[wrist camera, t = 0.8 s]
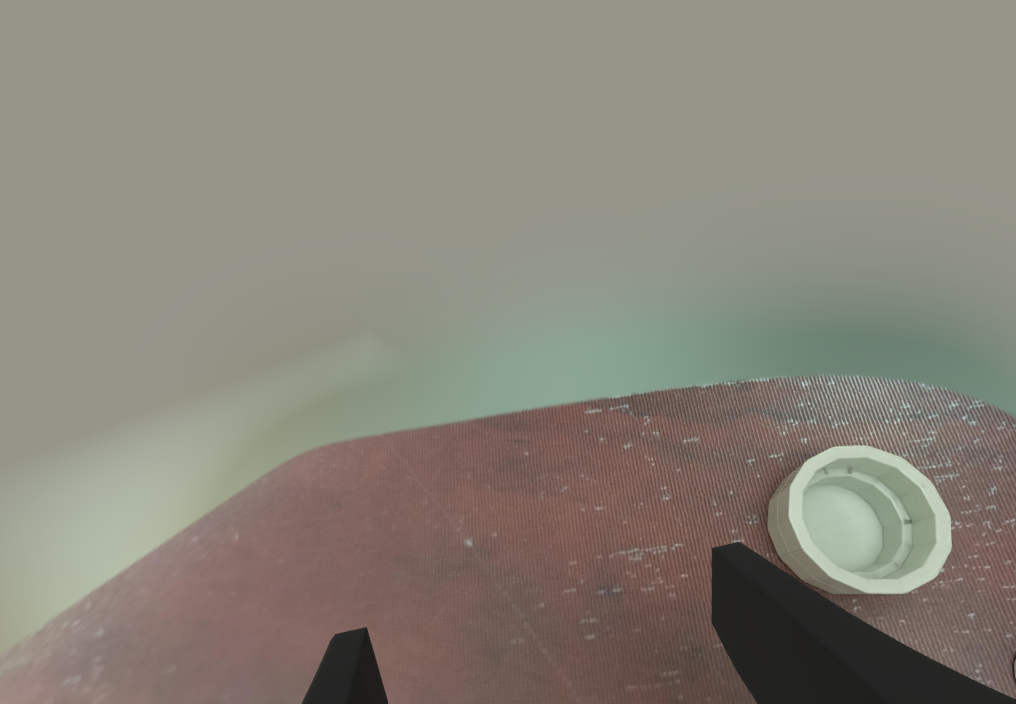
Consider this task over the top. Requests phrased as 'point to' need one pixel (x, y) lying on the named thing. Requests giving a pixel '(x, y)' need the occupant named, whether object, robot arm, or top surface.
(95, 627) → the top surface
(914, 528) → the green faceted cup
